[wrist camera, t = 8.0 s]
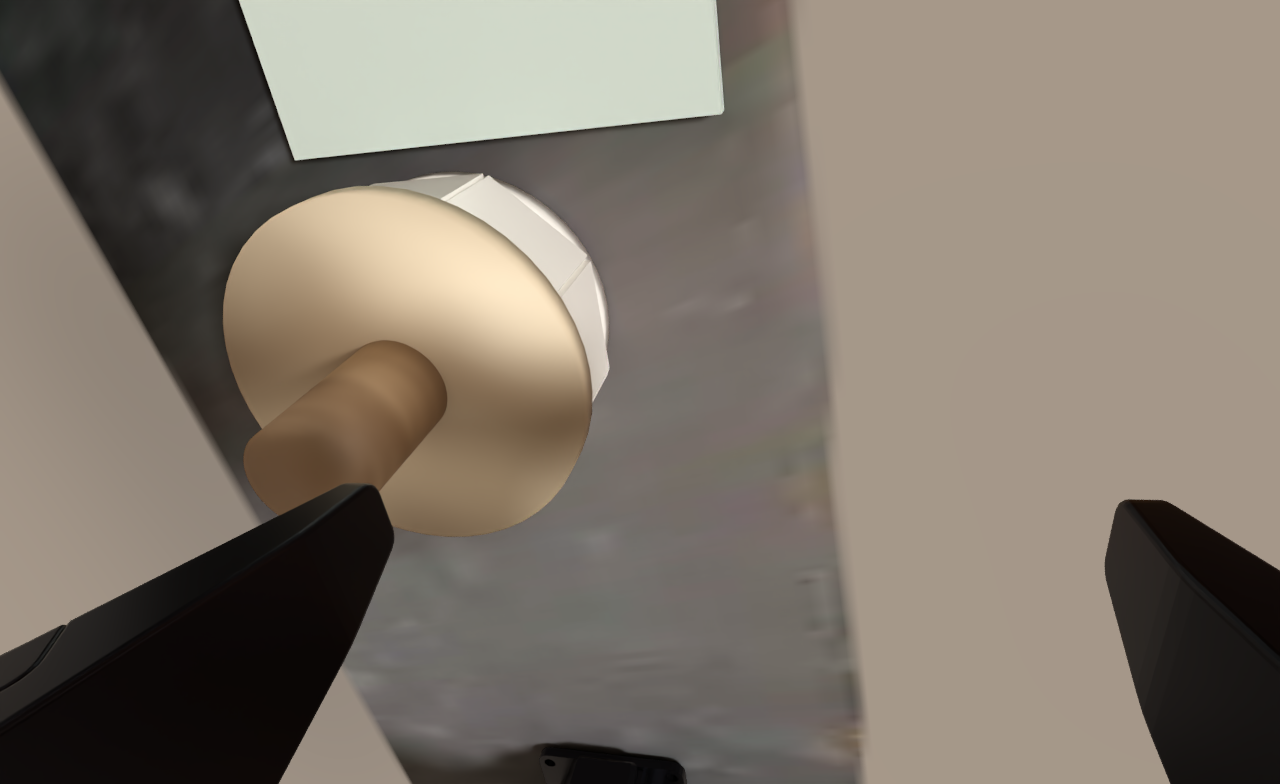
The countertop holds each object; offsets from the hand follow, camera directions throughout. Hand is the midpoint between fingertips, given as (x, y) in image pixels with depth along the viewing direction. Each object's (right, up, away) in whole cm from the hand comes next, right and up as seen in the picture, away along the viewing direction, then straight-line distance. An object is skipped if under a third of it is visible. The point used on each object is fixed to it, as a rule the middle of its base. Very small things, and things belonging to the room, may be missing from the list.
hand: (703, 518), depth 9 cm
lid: (-7, +2, +10) cm, 12 cm away
